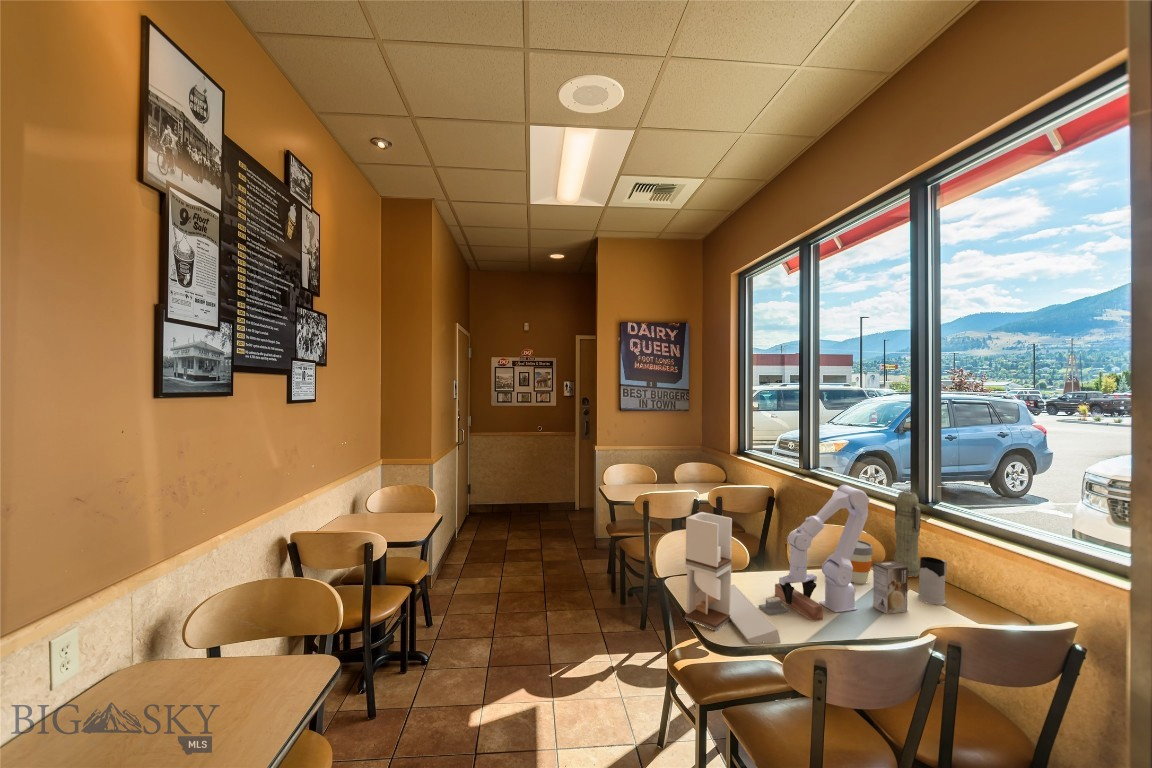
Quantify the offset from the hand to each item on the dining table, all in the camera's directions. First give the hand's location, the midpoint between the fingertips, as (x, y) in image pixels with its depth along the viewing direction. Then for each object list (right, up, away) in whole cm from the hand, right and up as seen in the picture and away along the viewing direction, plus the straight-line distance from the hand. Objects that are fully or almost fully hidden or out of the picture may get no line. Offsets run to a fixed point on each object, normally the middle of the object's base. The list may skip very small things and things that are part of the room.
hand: (797, 602), depth 179 cm
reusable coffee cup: (+36, -2, +26) cm, 44 cm away
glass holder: (+57, -3, +9) cm, 57 cm away
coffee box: (+33, -3, 0) cm, 33 cm away
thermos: (+62, -3, +33) cm, 70 cm away
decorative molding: (-23, -3, -8) cm, 25 cm away
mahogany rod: (0, -2, 0) cm, 2 cm away
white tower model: (-35, -2, -11) cm, 37 cm away
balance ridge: (-10, -2, -3) cm, 10 cm away
